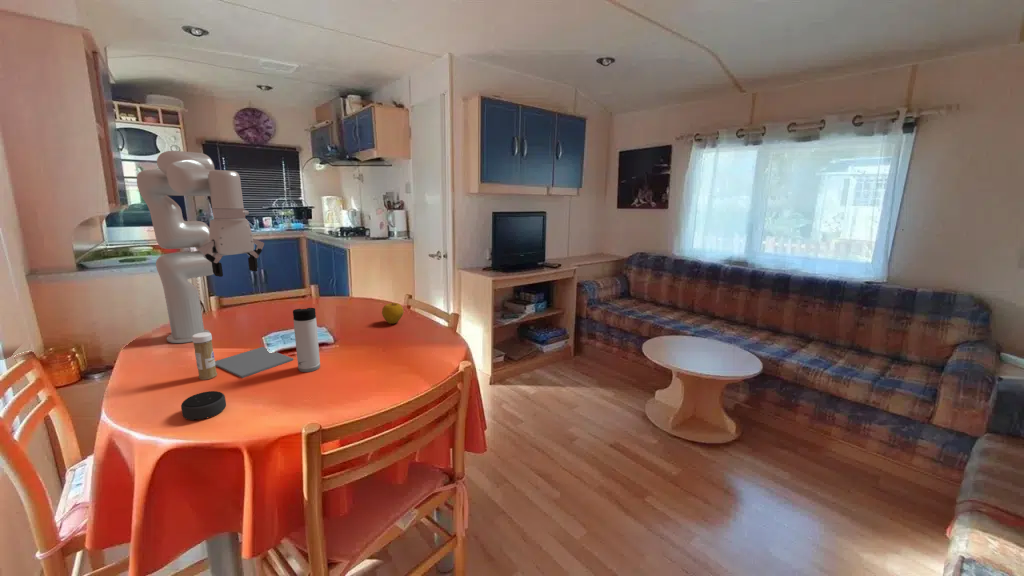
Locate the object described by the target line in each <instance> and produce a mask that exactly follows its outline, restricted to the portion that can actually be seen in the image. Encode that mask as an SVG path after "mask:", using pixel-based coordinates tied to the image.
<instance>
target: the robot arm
mask: <svg viewBox="0 0 1024 576" xmlns="http://www.w3.org/2000/svg"><path fill="white" fill-rule="evenodd" d="M156 164H157V166H158V168H159V169H158V168H157V169H156V168H154V169H153V168H152V169H145V170H142V171H140V172H139V173H138V174H137V175H136V186H137V190H138V192H139V194H140V196H141V197H142V199H143V201H144V203H146V205H147V208H148V210H149V213H150V217H151V222H152V223H151V224H152V227H153V231H154V236H155V240H156V243H157V244H158V246H159V247H160V248H162V249H165V250H180V249H189V248H192V249H193V248H195V249H196V250H195V251H194V250H192V251H181V252H172V253H170V252H169V253H165V254H163V255H161V256H159V257H158V258H157V259H156V261H155V266H156V271H157V273H158V276H159V278H160V281H161V284H162V287H163V293H164V299H165V303H166V309H167V315H168V321H169V327H170V334H169V335H168V336H167V337H166V341H167V342H168V343H171V344H185V343H191V342H192V343H193V341H192V336H193V335H194V334H197V333H202V332H209V333H211V332H210V330H209V329H205V327H204V322H203V321H204V320H203V316H202V315H203V314H202V313H203V312H202V307H201V301H200V294H199V289H198V288H197V287H196V286H195V285H194V284H193V283H191V282H190V281H189V279H193V278H195V279H196V278H200V277H207V276H212V275H214V276H216V277H220V278H222V277H223V276H224V273H223V266H222V265H223V264H222V263H221V262H220V261H221V259H222V258H223V257H224V256H232V255H240V254H241V255H242V254H246V255H247V256H248V258H247V261H248V269H249V271H251V272H258V267H259V265H258V258H259V257H260V255H261V253H262V252H263V248H264V246H265V243H264V242H263V241H261V240H258V239H256V238H253V232H252V229H251V226H250V223H249V220H248V219H246V216H248V215H250V212H249V210H247V209H246V208H244V207H245V206H244V201H243V200H244V199H243V191H242V181H241V176H240V174H239V173H238V172H237V171H235V170H224V169H223V170H222V169H216V168H215V163H214V161H213V160H212V158H211V157H210V156H209V155H207V154H205V153H202V152H195V151H194V152H193V151H182V150H166V151H164V152H161V153H160V154H159V155H158V156H157V159H156ZM170 196H176V197H177V196H181V197H182V196H183V197H184V196H185V197H186V196H187V197H209V198H210V203H211V209H212V215H213V219H210V221H209V225H208V224H207V223H205V222H203V221H199V220H187V221H186V220H184V217H183V216H184V215H183V213H182V212H183V211H182V208H181V207H180V205H179V203H177V202H176V201H175V200H174V199H172V198H171V197H170ZM255 245H256V248H255Z"/></svg>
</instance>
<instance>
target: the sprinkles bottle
mask: <svg viewBox="0 0 1024 576" xmlns="http://www.w3.org/2000/svg"><path fill="white" fill-rule="evenodd" d="M209 332H210V331H209ZM209 332H202V333H197V334H194V335H193V336H192V343H193V347H194V355H195V361H196V363H195V364H196V367H197V371H198V378H199V380H202V381H203V380H210V379H211V380H212V379H213V378H216V377H217V376H218V373H217V368H216V367H217V366H215V361H216V358H215V353H214V352H215V351H214V347H213V343H212V341H213V336H212V333H211V332H210V333H209Z"/></svg>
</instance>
